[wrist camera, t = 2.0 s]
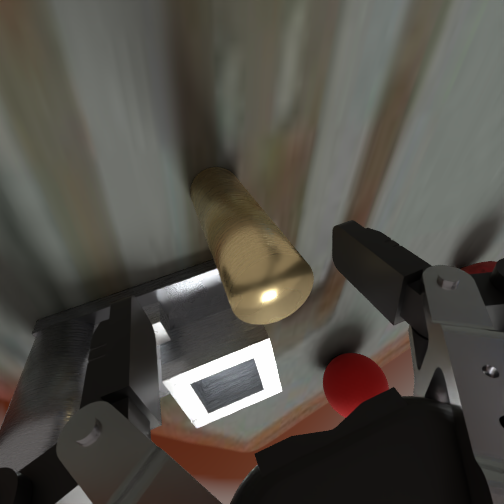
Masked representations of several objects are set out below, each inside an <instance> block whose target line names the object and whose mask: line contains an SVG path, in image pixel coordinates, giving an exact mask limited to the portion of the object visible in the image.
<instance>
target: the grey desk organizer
mask: <svg viewBox="0 0 504 504" xmlns="http://www.w3.org/2000/svg"><path fill="white" fill-rule="evenodd" d="M132 295H134V296H135V297H136V298H137V299H138V301H139V303H140V305H141V306H142V308H143V310H144V311H145V313H146V315H147V317H148V318H149V320H150V322H151V324H152V326H153V329H154V332H155V337H156V350H157V365H158V379H159V394H160V398H161V397H163V396H166V395H168V394H172V396H173V397H174V398H175V400H176V401H177V402H178V404H179V405H180V407H181V408H182V409H183V411H184V412H185V413H186V415H187V416H188V417H189V419H190V420H191V421H192V423H193V424H194V425H195V427H196V428H199V427H201V426H203V425H206V424H208V423H210V422H213V421H215V420H217V419H219V418H222V417H224V416H226V415H229V414H231V413H233V412H235V411H238V410H240V409H242V408H245V407H247V406H249V405H251V404H254V403H256V402H258V401H261V400H263V399H265V398H267V397H270V396H272V395H274V394H277V393H279V392H281V391H282V389H281V385H280V381H279V376H278V372H277V368H276V364H275V360H274V355H273V351H272V347H271V343H270V339H269V336H268V334H267V332H266V330H265V328H264V326H263V324H261V325H257V324H250V323H246V322H244V321H242V320H240V319H239V318H238V317H237V316H236V315H235V314H234V312H233V311H232V308H231V306H230V303H229V300H228V297H227V295H226V292H225V289H224V286H223V284H222V281H221V278H220V276H219V273H218V270H217V267H216V265H215V262H214V259H213V260H210V261H208V262H205V263H202V264H199V265H196V266H193V267H190V268H187V269H185V270H182V271H179V272H176V273H173V274H170V275H167V276H164V277H161V278H159V279H156V280H153V281H150V282H147V283H144V284H141V285H138V286H136V287H133V288H130V289H127V290H124V291H121V292H118V293H115V294H112V295H110V296H107V297H104V298H101V299H98V300H95V301H92V302H89V303H87V304H84V305H81V306H78V307H75V308H72V309H69V310H66V311H63V312H61V313H58V314H55V315H52V316H49V317H46V318H43V319H40V320H38V321H37V323H36V325H35V328H34V330H33V333H32V335H33V336H34V337H35V341H34V343H33V346H32V349H31V351H30V354H29V356H28V359H27V361H26V364H25V367H24V369H23V372H22V374H21V377H20V379H19V382H18V385H17V387H16V390H15V392H14V395H13V397H12V400H11V402H10V405H9V408H8V410H7V413H6V415H5V418H4V421H3V423H2V426H1V428H0V468H2V467H8V468H11V469H13V470H15V471H17V472H18V471H20V470H21V469H22V468H24V467H25V466H26V465H28V464H29V463H31V462H32V461H33V460H35V459H36V458H37V457H39V456H40V455H42V454H43V453H44V452H46V451H47V450H48V449H50V448H51V447H52V446H54V445H55V444H56V443H57V441H58V438H59V435H60V433H61V431H62V429H63V427H64V426H65V424H66V423H67V422H68V420H69V419H70V418H71V417H72V416H73V415H74V414H75V413H76V412H77V411H79V408H80V404H81V398H82V392H83V386H84V380H85V374H86V369H87V363H89V361H88V357H89V352H90V345H91V339H92V335H93V333H94V332H95V330H96V328H97V327H98V325H99V323H100V322H101V321H104V320H107V319H109V315H110V306H111V303H112V302H115V301H118V300H120V299H123V298H126V297H129V296H132Z"/></svg>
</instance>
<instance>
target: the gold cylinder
mask: <svg viewBox="0 0 504 504" xmlns="http://www.w3.org/2000/svg"><path fill="white" fill-rule="evenodd" d="M190 194H191V199H192V202H193V205H194V207H195V210H196V213H197V215H198V218H199V221H200V224H201V226H202V229H203V232H204V235H205V237H206V240H207V243H208V245H209V248H210V251H211V254H212V256H213V259H214V262H215V265H216V267H217V270H218V273H219V276H220V278H221V281H222V284H223V286H224V289H225V292H226V295H227V297H228V300H229V303H230V306H231V308H232V311H233V312H234V314H235V315H236V316H237V317H238V318H239V319H240V320H242V321H244V322H246V323H250V324H257V325H261V324H269V323H273V322H276V321H279V320H281V319H284V318H285V317H287V316H289V315H290V314H292V313H293V312H295V311H296V310H297V309H298V308H299V307H300V306H301V305H302V304H303V303H304V302H305V300H306V299H307V298H308V296H309V294H310V292H311V290H312V286H313V278H314V277H313V272H312V269H311V267H310V266H309V265H308V263H307V262H306V261H305V260H304V259H303V257H302V256H301V255H300V254H299V252H298V251H297V250H296V249H295V248H294V246H293V245H292V244H291V243H290V242H289V240H288V239H287V238H286V237H285V236H284V234H283V233H282V232H281V231H280V230H279V228H278V227H277V226H276V225H275V224H274V222H273V221H272V220H271V219H270V218H269V216H268V215H267V214H266V213H265V212H264V210H263V209H262V208H261V207H260V206H259V204H258V203H257V202H256V201H255V200H254V198H253V197H252V196H251V195H250V194H249V192H248V191H247V190H246V189H245V188H244V186H243V185H242V184H241V183H240V181H239V180H238V179H237V178H236V177H235V175H234V174H233V173H232V172H230V171H229V170H227V169H225V168H221V167H211V168H208V169H205V170H203V171H202V172H200V173H199V174H198V175H197V176H196V177H195V179H194V180H193V182H192V185H191V190H190Z"/></svg>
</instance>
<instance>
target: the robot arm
mask: <svg viewBox="0 0 504 504" xmlns="http://www.w3.org/2000/svg"><path fill="white" fill-rule="evenodd" d="M332 258H333V262H334V264H335V266H336V268H337V269H338V271H339V272H340V273H341V274H342V275H343V276H344V277H345V278H346V279H347V280H348V281H349V282H350V283H351V284H352V285H353V286H354V287H355V288H356V289H357V290H358V291H359V292H360V293H362V294H363V295H364V296H365V297H366V298H367V299H368V300H369V301H370V302H371V303H372V304H373V305H374V306H375V307H376V308H377V309H378V310H379V311H380V312H381V313H382V314H383V315H384V316H385V317H386V318H387V319H388V320H389V321H390V322H391V323H392V324H393V325H396V324H398V323H401V322H403V321H406V322H407V323H408V324H409V329H408V332H409V339H410V347H411V354H412V362H413V369H414V377H415V378H414V380H415V382H414V383H415V384H414V396H403V397H401V395H400V394H399V393H398V392H397V390H396V389H395V388H394V387H393V388H391V389H389V390H387V391H385V392H382V393H380V394H378V395H376V396H374V397H372V398H370V399H368V400H366V401H364V402H362V403H361V404H360V405H359V406H358V407H357V408H356V409H355V410H354V411H353V412H351V413H350V414H349V415H348V416H347V417H346V418H345V419H344V420H343V421H342V422H341V423H340V424H339V425H338V426H337V427H336V428H334V429H333V430H329V431H323V432H316V433H309V434H303V435H296V436H291V437H289V438H287V439H285V440H282V441H281V442H278V443H276V444H274V445H272V446H270V447H268V448H266V449H264V450H262V451H260V452H258V453H255V457H256V460H257V463H258V465H257V466H256V467H255V468H254V469H253V470H252V471H251V472H250V473H249V474H248V475H247V477H246V478H245V479H244V480H243V482H242V483H241V485H240V486H239V488H238V489H237V491H236V493H235V495H234V497H233V499H232V501H231V503H230V504H504V258H503V259H500V260H499V261H498V262H497V263H496V265H495V267H494V269H493V272H486V273H477V274H468V273H466V272H465V271H463V270H461V269H458V268H456V267H452V266H446V265H436V266H431V265H430V264H428V263H427V262H425V261H424V260H422V259H421V258H419V257H418V256H416V255H415V254H413V253H412V252H410V251H409V250H407V249H406V248H404V247H403V246H399V244H398V243H397V242H395V241H393V240H391V239H390V238H389V237H387V236H386V235H384V234H383V233H381V232H379V231H376V230H373V229H370V228H364V227H362V226H361V225H359V224H358V223H357V222H355V221H353V220H351V221H348V222H345V223H342V224H339V225H336V226H334V228H333V235H332ZM88 361H89V363H87V369H86V374H85V380H84V386H83V392H82V398H81V404H80V408H79V411H77V412H76V413H75V414H74V415H73V416H72V417H71V418H70V419H69V420H68V422H67V423H66V424H65V426H64V427H63V429H62V431H61V433H60V435H59V438H58V441H57V443H56V444H55V445H54V446H52V447H51V448H50V449H48V450H47V451H46V452H44V453H43V454H42V455H40V456H39V457H37V458H36V459H35V460H33V461H32V462H31V463H29V464H28V465H26V466H25V467H24V468H22V469H21V470H20V471H18V472H17V471H15V470H13V469H11V468H8V467H2V468H0V504H222V503H221V502H220V501H219V500H218V499H217V498H216V497H214V496H213V495H212V494H211V493H210V492H209V491H208V490H207V489H206V488H205V487H203V486H202V485H201V484H200V483H199V482H198V481H197V480H196V479H195V478H193V477H192V476H191V475H190V474H189V473H188V472H187V471H186V470H185V469H183V468H182V467H181V466H180V465H179V464H178V463H177V462H176V461H175V460H174V459H172V458H171V457H170V456H169V455H168V454H167V453H166V452H165V451H163V450H162V449H161V448H159V447H157V446H156V445H155V444H154V443H153V442H152V441H151V434H150V430H151V429H154V428H156V427H158V426H161V425H162V424H161V409H160V394H159V379H158V365H157V350H156V337H155V332H154V329H153V326H152V324H151V322H150V320H149V318H148V317H147V315H146V313H145V311H144V310H143V308H142V306H141V305H140V303H139V301H138V299H137V298H136V297H135V296H134V295H132V296H129V297H126V298H123V299H120V300H118V301H115V302H112V303H111V306H110V315H109V319H107V320H104V321H101V322H100V323H99V325H98V327H97V328H96V330H95V332H94V333H93V335H92V339H91V345H90V352H89V357H88Z"/></svg>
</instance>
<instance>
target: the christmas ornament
mask: <svg viewBox="0 0 504 504" xmlns="http://www.w3.org/2000/svg"><path fill="white" fill-rule="evenodd" d="M323 388H324V392H325V395H326V398H327V400H328V402H329V403H330V405H331V406H332V407H333V409H334V410H336V411H337V412H338V413H339V414H340V415H342V416H344V417H345V418H346V417H347V416H348V415H349V414H350V413H351V412H353V411H354V410H355V409H356V408H357V407H358V406H359V405H360V404H361V403H362V402H364V401H366V400H368V399H370V398H372V397H374V396H376V395H378V394H380V393H382V392H385V391H387V390H389V387H388V382H387V379H386V377H385V375H384V373H383V371H382V370H381V368H380V367H379V366H378V365H377V364H376V363H375V362H374V361H372V360H371V359H370V358H368V357H366V356H364V355H361V354H357V353H345V354H342V355H339V356H337V357H335V358H334V359H333V360H332V361H331V362H330V363H329V364H328V366H327V368H326V370H325V372H324V377H323Z"/></svg>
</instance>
